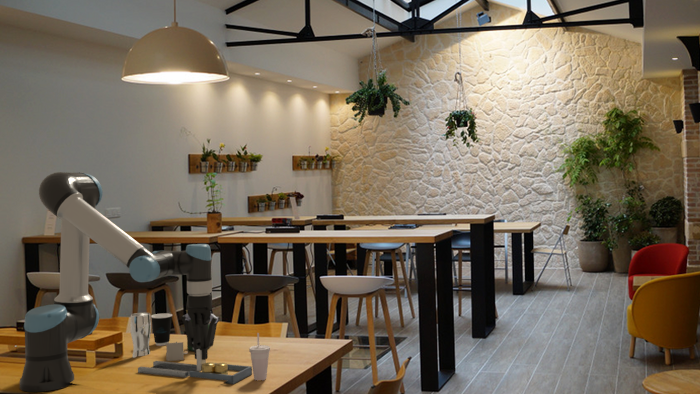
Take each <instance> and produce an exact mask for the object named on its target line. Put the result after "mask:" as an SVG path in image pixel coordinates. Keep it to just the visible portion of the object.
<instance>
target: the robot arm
mask: <svg viewBox="0 0 700 394" xmlns="http://www.w3.org/2000/svg"><path fill="white" fill-rule="evenodd" d="M38 195H39V199H40V201H41V203H42V204H43V206H44V207H45V208H46V209H47V210H48V211H49V212H50V213H51V214H53V215H54V216H56V217H57V218H58V219H60V221H61V222H60V224H61V225H60V226H61V227H60V256H59V257H60V260H59V263H60V264H59V268H60V269H59V293H58V295H57V296H56V297H54V299H53V301H54V302H53V304H47V305H43V306H41V305H40V306H37V307H34V308H32V309H30V310H28V311H27V312H26V313H25V317H24V324H23V329H24V349H25V351H24V352H25V353H24V354H25V358H24V359H25V363H24V367H23V371H22V375H21V377H20V380H19V390H21V391H23V392H28V393H29V392H30V393H38V392H39V393H40V392H41V393H43V392H49V391H50V392H51V391H55V390H60V389H64V388H67V387H69V386H72V385H73V382H74V380H75V372H74V371H73V370H72V366H71V363H70V359H69V358H68V344H69V343H73V342H75V341H77V340H78V341H79V340H81V339H84V338H86V337H88V336H89V335H90V334H92V333H93V332H94V331H95V330H96V329H97V327H98V324H99V321H100V313H99V310H98V308H97V307H96V304H95V303H94V298H93V296H91V294H89V293H90V292H89V276H90V274H89V271H90V270H89V269H90V239H91V240H92V241H93V242H94V243H96V244H97V245H98V246H99V247H101V248H102V249H103V250H104V251H106V252H108V254H110V255H111V256H113V257H114V258H116V260H117V261H119V262H120V263H122V264H123V265H124V266H125V267H126V268H127V269H129V274H130V276H131V278H132V279H133V280H134V281H135V282H138V283H147V282H152V281H154V280H158V279H161V278H164V277H168V276H185V275H186V293H187V294H188V295H187V296H186V297H187V298H186V299H187V301H186V304H187V305H188V307H189V309H188V311H187V313H186V314H184V315H181V316H180V320H181V321H182V322H183V325H184V331H185V336H186V338H187V340H188V345H189V346H190V347H193V348H194V351H193V352H194V360H196V365H197V371H199V372H202V364H204V363H207V359H208V356H209V355H208V354H209V353H208V349H209V348H211V347H213V346H214V342H215V337H216V331H217V326H218V323H219V321H220V316H216V315H215V314H214V312H213V309H212V307H213V295H212V294H211V293H212V292H213V285H212V284H213V282H212V281H213V280H212V277H213V276H212V251H211V246H210V245H209V244H207V243H197V244H196V243H194V244H187V245H186V247H185V250H154V251H150V250H148V249H147V248H146V247H144V246H143V245H142V244H141V243H139V242H138V241H137V240H135V239H134V238H133V237H132V236H131V235H129V234H128V233H126V232H125V231H124V230H123V229H121V228H120V227H119V226H118V225H116V224H115V223H114V222H112V221H111V220H110V219H109V218H107V217H106V216H104V214H102V213H101V212H99V211H98V210H97V209H96V207H97V206H98V205H99V203H101V201H102V199H103V187H102V185H101V183H100V181H99V180H98V179H97V178H96V177H95V176H93V175H92V174H90V173H85V172H64V171H58V172H53V173H50V174H49V175H47V176H46V177H45V178H44V179H42V180H41V183H40V184H39V188H38ZM191 320H192V322H191ZM209 320H210V324H209ZM208 325H209V329H208ZM187 340H186V341H187ZM200 347H201V348H200Z"/></svg>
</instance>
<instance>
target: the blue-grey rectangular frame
mask: <svg viewBox="0 0 700 394" xmlns="http://www.w3.org/2000/svg"><path fill="white" fill-rule="evenodd" d="M214 363H215V364H217V362H214ZM227 364H228V371H235V372H236V373H234V374H228V375H225V374H215V373H205V372H202V371H199V372H195V371H190V376H189V377H190V378H199V379H210V380H217V381H219V380H220V381H223V384H228V385H235V384H236V383H239V382H240V381H242V380H244V379H246V378H248V377H249V376H252V375H253V367H252V365H251V366H249V365H239V364H229V363H227ZM237 371H238V372H237Z"/></svg>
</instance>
